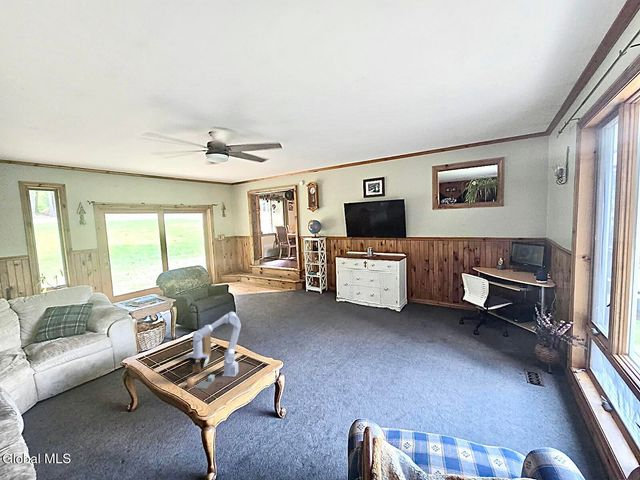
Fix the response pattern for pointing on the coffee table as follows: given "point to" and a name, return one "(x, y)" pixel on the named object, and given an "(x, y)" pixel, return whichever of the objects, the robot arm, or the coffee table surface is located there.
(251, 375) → the coffee table surface
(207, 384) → the slate coaster
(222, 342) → the coffee table surface
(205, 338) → the wooden block
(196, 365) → the walnut block
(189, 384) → the tan rounded cylinder
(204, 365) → the lidded jar
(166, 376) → the coffee table surface
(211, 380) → the blue plastic box
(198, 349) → the robot arm
